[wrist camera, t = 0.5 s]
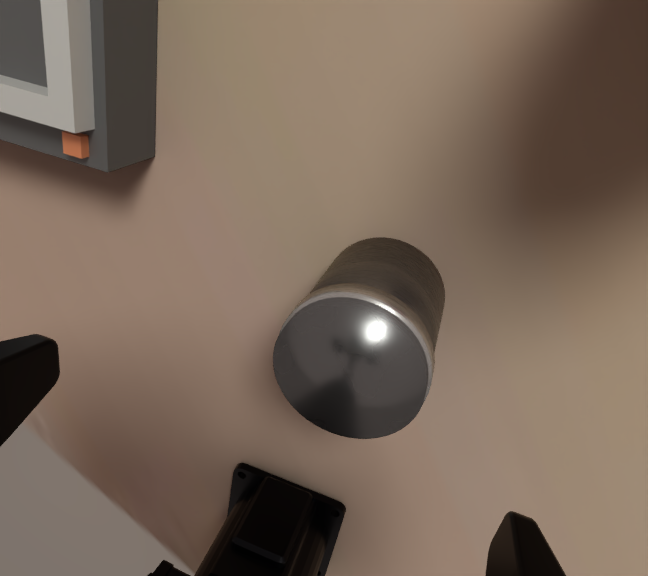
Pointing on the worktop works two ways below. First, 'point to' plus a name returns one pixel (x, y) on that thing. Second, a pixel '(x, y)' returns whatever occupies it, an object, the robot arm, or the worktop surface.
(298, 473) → the worktop surface
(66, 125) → the grey recessed tray
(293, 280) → the worktop surface
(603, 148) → the worktop surface
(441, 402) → the worktop surface
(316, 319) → the metal can
